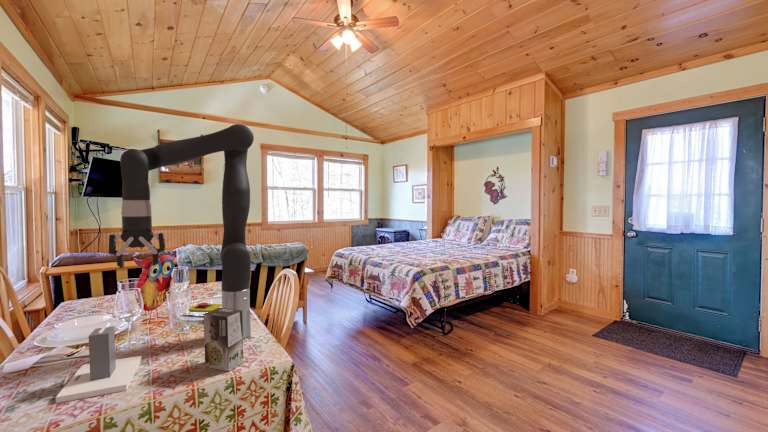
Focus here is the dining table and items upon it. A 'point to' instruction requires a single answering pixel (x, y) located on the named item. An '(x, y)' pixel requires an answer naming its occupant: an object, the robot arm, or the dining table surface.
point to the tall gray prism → (102, 353)
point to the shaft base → (99, 381)
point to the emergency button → (204, 307)
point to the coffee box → (223, 338)
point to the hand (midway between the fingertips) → (138, 266)
